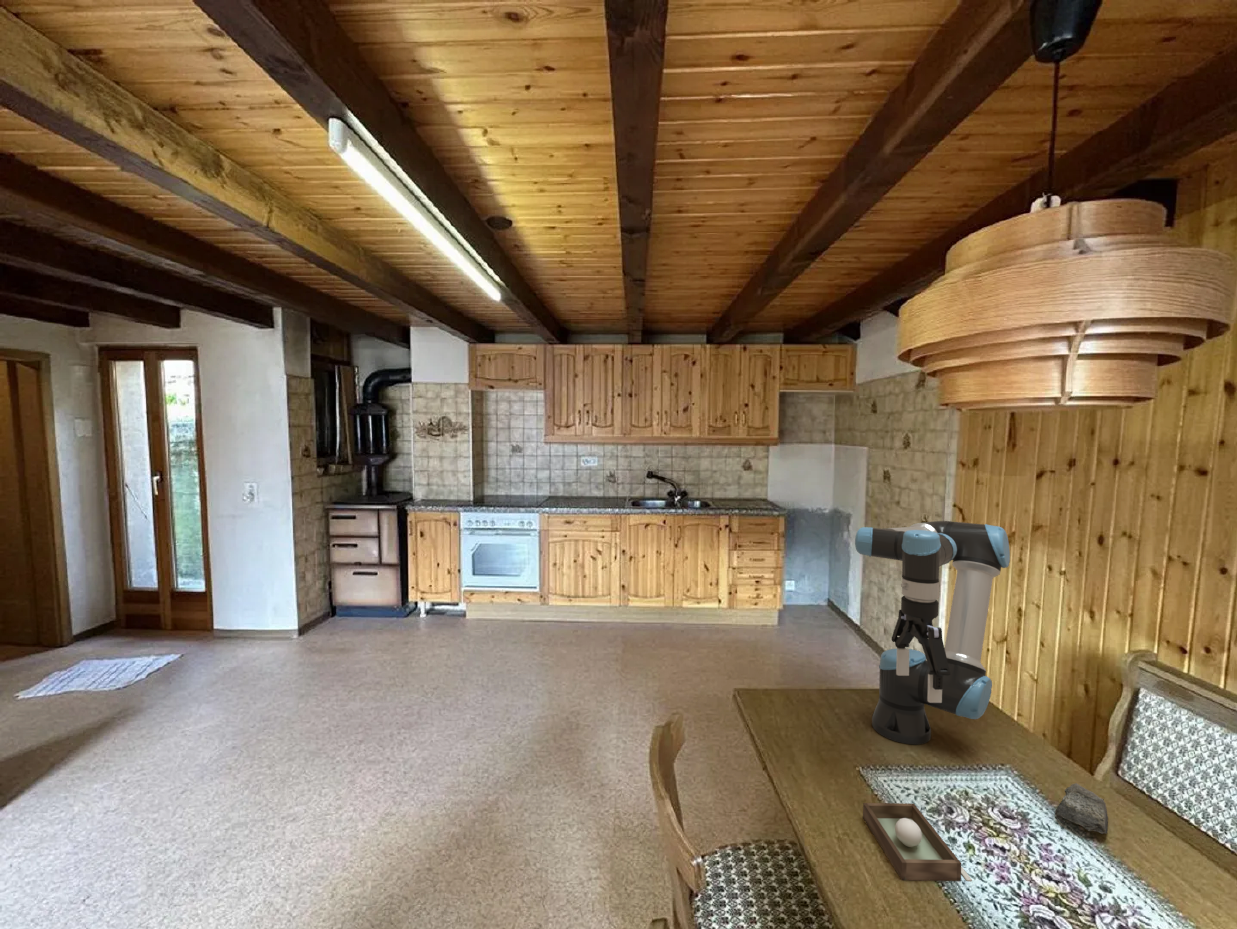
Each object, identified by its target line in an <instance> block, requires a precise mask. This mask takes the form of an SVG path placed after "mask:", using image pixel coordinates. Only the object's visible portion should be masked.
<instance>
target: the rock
mask: <svg viewBox="0 0 1237 929" xmlns="http://www.w3.org/2000/svg"><path fill="white" fill-rule="evenodd" d="M1064 793H1065V795H1064V796H1063V798H1062V799H1061V801H1060V802H1059V804H1058V805H1057V807H1056V808H1055V811H1054V814H1055V818H1056V819H1057V820H1058V822H1060V823H1062V824H1065V823H1066V822H1065V821H1064V819H1065V820H1067V821H1068V822H1071V823H1075V824H1076V825H1078V826H1079V825H1080V826H1082V828H1083V829H1084V830H1086V831H1088V832H1091V831H1093V832H1097V833H1100V834H1102V835H1103V834H1105V835H1106V834H1107V835H1108V829H1109V824H1108V823H1109V821H1108V820H1109V816H1108V810H1107V805H1106V802H1105V800H1104V799H1105V798H1104V799H1103V798H1101V797H1100V796H1098V795H1097V794H1096V793H1095V792H1093V791H1091V790H1089V789H1087V788H1085V787H1083V786H1082V785H1080V784H1079V783H1071V785H1070V786H1069V787H1066V788H1065V789H1064Z"/></svg>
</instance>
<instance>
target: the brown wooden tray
mask: <svg viewBox="0 0 1237 929" xmlns="http://www.w3.org/2000/svg"><path fill="white" fill-rule="evenodd" d="M862 804H863V805H862V808H863V809H862V819H863V821H864V822H865V823H866V825H867V827H868V829H869V830H870V832H871V833H872V834H873V836H874V839H875V840H876V841H877V843H878V844H879V846H880V847H881V849H882V851H883V852H884V854H885V856H886V857H887V859H888V861H889V862H890V864H891V865H892V866H893V868H894V870H895V871H896V873H897V874H898V876H899V878H900V879H901V881H927V882H928V881H931V882H932V881H935V882H937V881H939V882H943V881H945V882H948V881H951V882H961V881H962V874H961V867H962V862H961V861H960V860H959V858H958V857H957V856H956V855H955V853H954V852H953V851H952V850H951V848H950V847H949V846H948V844H947V843H946V842H945V840H944V839H943V838H942V836H940V834H939V833H938V832H937V830H936V829H935V828H934V827H933V825H931V823H930V822H929V821H928V819H927V818H926V816H924V814H923V813H922V811H920V809H919V808H918V806H917V805H916V804H915V803H904V802H903V803H901V802H899V803H898V802H897V803H896V802H894V803H893V802H886V803H885V802H863V803H862ZM902 818H907V819H910V820H912V821H914V822H915V823H916V824H917V825H918V826H919V828H920V829H921V832H922V840H921V842H920V844H919V845H917V846H914V847H907V846H905V845H904V844H903V843H902V842H901V841H900V840H899V839H898V837H897V836H896V834H895V825H896V823H897V822H898V820H900V819H902Z"/></svg>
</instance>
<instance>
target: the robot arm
mask: <svg viewBox="0 0 1237 929" xmlns="http://www.w3.org/2000/svg"><path fill="white" fill-rule="evenodd" d="M854 540H855V541H854V546H855V549H856V550H855V551H857V553H858V554H860V555H862V556H863V555H864V556H868V557H870V558H871V557H874V558H881V559H887V560H888V559H889V560H897V561H901V563H902V564H901V567H902V568H901V583H900V587H901V595H902V596H901V601H900V609H899V610H898V616H897V617H898V618H897V621H896V623H895V627H894V629H893V631H892V632H893V633H892V636H891V642H892V643H894V644H895V648H889V649H887V650H884V651H883V652H882V653H881V655H880V659H879V665H878V669H879V684H878V685H879V688H878V689H879V690H878V692H879V697H878V702H877V704H876V706H875V709H874V711H873V714H872V717H871V725H872V728H873V729H874V730H875V732H876V733H878V734H879V735H881V736H883V737H884V738H886V739H889V740H890V741H893V742H898V743H901V744H906V745H923V744H926V743H928V742H929V741H930V740H931V738H932V728H931V725H930V721H929V719H928V716H927V713H926V710H925V706H926V705H927V706H929V707H932V708H935V709H938V710H941V711H944V712H946V713H947V712H948V713H950V714H952V715H953V714H954V715H956V716H958V717H963V718H967V719H971V720H978V719H980V718H982V716H983V715H984V714H985V711H987V708H988V706H989V703H990V700H991V695H992V688H993V682H992V679H991V678H990V677H988V676H987V675H986V673H987V669H986V668H985V667H984V665H983V664H982V663H981V662H982V661H981V659H982V652H983V646H984V640H985V632H986V628H987V627H986V626H987V618H988V612H989V605H990V599H991V598H990V597H991V593H992V592H991V591H992V585H993V579H994V578H996V577H998V576H999V575H1000V574H1001V570H1002V569H1005V568H1009V566H1010V561H1011V560H1010V559H1011V557H1010V556H1011V553H1010V550H1011V549H1010V544H1009V542H1010V541H1009V538H1008V534H1007V532H1006V530H1005V529H1004V527H1001V526H999V525H990V524H987V523H985V524H983V523H973V522H972V523H971V522H962V521H951V520H950V521H949V520H936V521H935V520H934V521H927V522H918V523H917V522H916V523H913V524H912V525H909V526H901V527H888V528H884V527H883V528H878V527H872V526H871V527H869V526H868V527H867V526H863V527H860V528H859V529H858V530H856V534H855V539H854ZM951 561H952V567H954V568H955V570H956V571H957V572H956V576H955V577H956V578H955V583H954V589H953V595H952V600H951V606H950V611H949V612H950V613H949V617H948V618H949V620H948V624H947V625H948V626H947V630H946V631H947V632H946V638H945V642H944V640H943V630H942V627H935V626H934V624H933V620H934V619H936V618H938V616H939V601H938V599H939V598H940V567H941V566H944V565H947V564H949V563H950V562H951ZM914 638H915V639H917V642H918V644H920V645H921V647H922V650H923V652H921V651H920V650H917V649H912V648H910V644H911V643H912V641H913V639H914Z"/></svg>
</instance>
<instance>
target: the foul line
mask: <svg viewBox="0 0 1237 929" xmlns="http://www.w3.org/2000/svg"><path fill="white" fill-rule="evenodd" d="M961 877H963V878H964V879H965V881H967V882H972V881H973V879H972V878H971V876H970V875H969V874H968V873H967V871H966V870H965V869H964V868H963V867H962V866H961Z"/></svg>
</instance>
